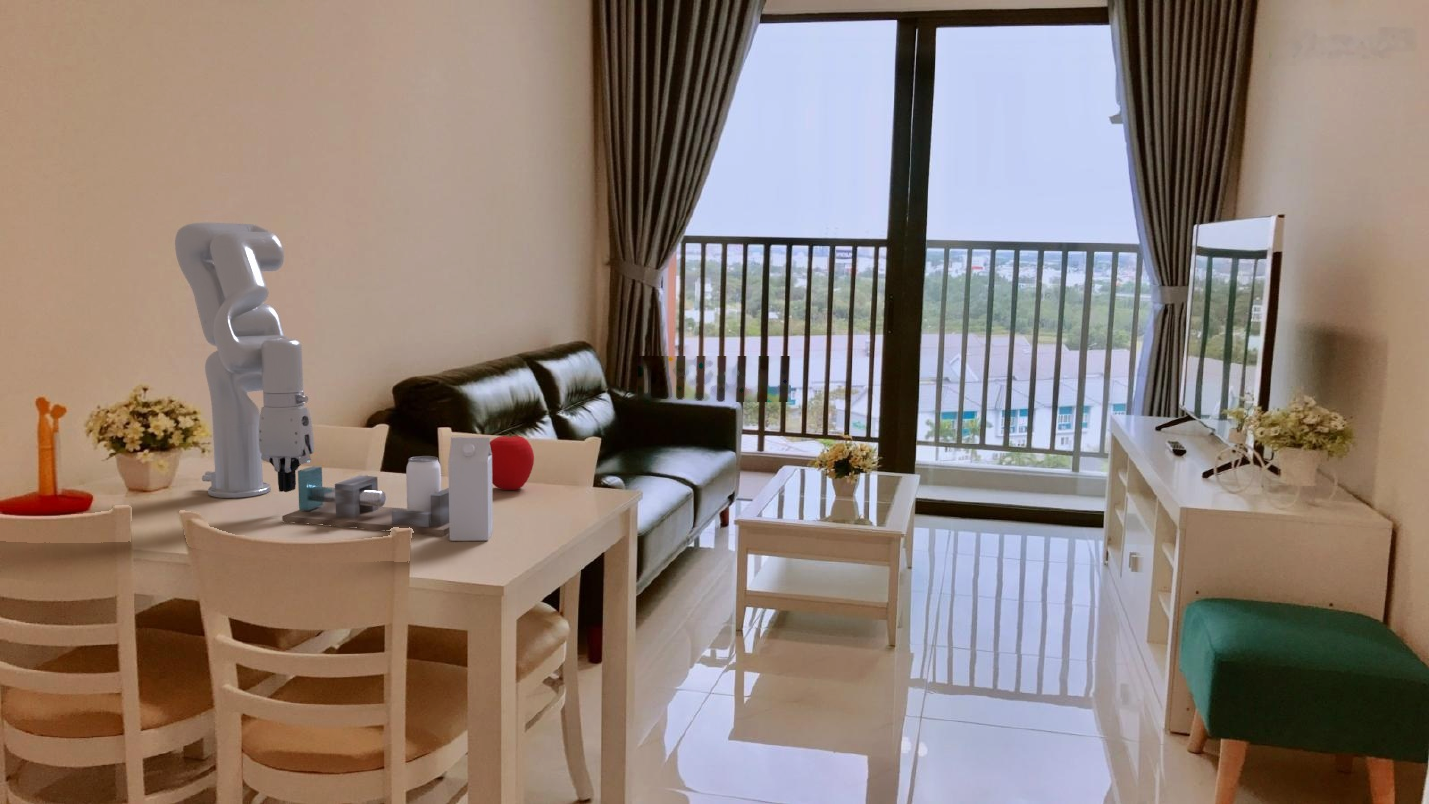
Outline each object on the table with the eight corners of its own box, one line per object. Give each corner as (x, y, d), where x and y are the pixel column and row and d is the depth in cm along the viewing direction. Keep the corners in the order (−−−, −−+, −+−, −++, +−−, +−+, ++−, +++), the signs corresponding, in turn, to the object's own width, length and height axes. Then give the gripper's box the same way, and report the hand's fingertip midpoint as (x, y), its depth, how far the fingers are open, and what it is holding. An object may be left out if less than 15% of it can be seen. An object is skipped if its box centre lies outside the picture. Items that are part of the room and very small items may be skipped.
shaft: (299, 509, 218) (297, 470, 217) (314, 504, 223) (313, 466, 222) (374, 516, 214) (373, 476, 213) (388, 510, 218) (387, 471, 217)
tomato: (498, 496, 239) (498, 439, 238) (476, 488, 248) (475, 432, 246) (543, 490, 246) (543, 434, 245) (520, 482, 255) (519, 428, 253)
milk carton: (455, 531, 209) (453, 434, 207) (492, 531, 210) (491, 434, 207) (449, 541, 202) (447, 440, 200) (488, 541, 203) (487, 440, 200)
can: (432, 523, 210) (431, 462, 208) (401, 521, 211) (400, 460, 210) (447, 516, 216) (446, 456, 215) (416, 514, 217) (415, 454, 216)
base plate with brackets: (282, 521, 214) (280, 482, 213) (322, 507, 227) (320, 470, 226) (443, 536, 206) (443, 495, 205) (475, 520, 218) (475, 481, 217)
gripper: (327, 400, 220) (330, 489, 223) (263, 396, 224) (267, 484, 226) (304, 404, 213) (308, 496, 215) (239, 401, 217) (243, 491, 219)
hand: (287, 490), depth 221 cm, fingers closed
